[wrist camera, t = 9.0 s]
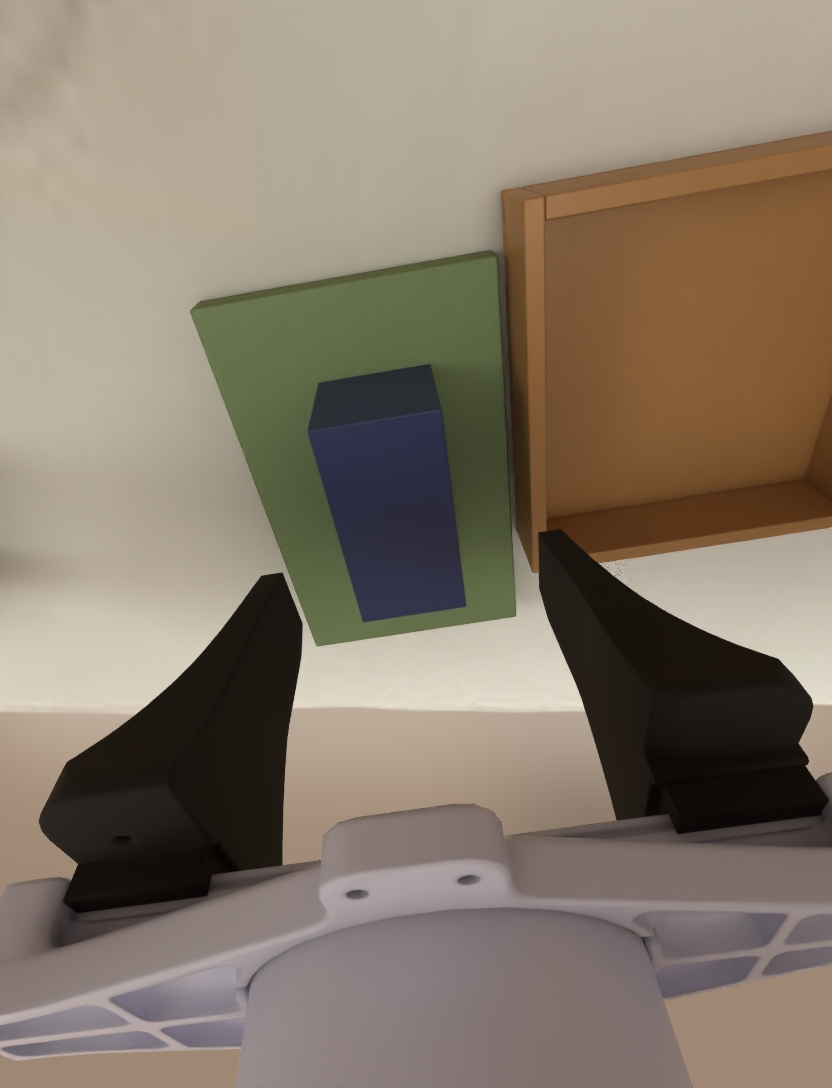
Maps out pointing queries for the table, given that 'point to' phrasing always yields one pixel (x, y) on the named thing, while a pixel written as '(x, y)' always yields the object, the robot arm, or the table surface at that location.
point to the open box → (673, 351)
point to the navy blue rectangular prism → (390, 490)
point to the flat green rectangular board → (354, 350)
